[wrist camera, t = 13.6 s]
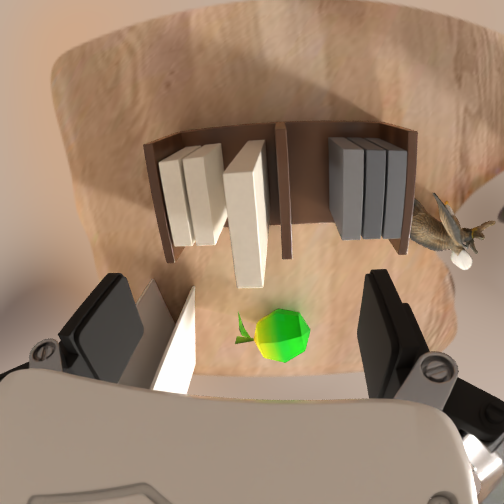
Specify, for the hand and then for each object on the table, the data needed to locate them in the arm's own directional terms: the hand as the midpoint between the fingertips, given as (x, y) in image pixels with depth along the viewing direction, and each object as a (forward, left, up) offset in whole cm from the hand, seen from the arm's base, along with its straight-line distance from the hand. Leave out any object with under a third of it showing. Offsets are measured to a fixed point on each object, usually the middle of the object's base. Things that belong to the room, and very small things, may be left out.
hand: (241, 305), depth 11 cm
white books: (+6, 0, -19) cm, 20 cm away
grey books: (-8, 0, -19) cm, 21 cm away
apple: (0, +18, -20) cm, 27 cm away
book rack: (-2, 0, -20) cm, 20 cm away
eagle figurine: (-19, +5, -20) cm, 28 cm away
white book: (+1, 0, -19) cm, 19 cm away
